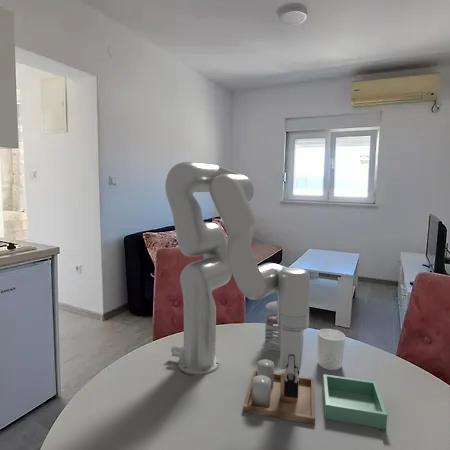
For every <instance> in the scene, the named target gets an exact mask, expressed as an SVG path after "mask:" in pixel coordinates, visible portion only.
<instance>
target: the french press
mask: <svg viewBox="0 0 450 450" xmlns="http://www.w3.org/2000/svg"><path fill="white" fill-rule="evenodd" d="M265 308H266V310H268V311H270V312H272V313H273V312H274V313H275V314H269V315H267V316H266V321H265V331H264V332H265V334H264V336H265V338H264V341H263V342H262V343H261V346H262V348H263V349H264V350H270V351H278V352H280V351H281V329H282V328H281V327H279V326H278V300H274V301H271V302H268V303H266V305H265Z"/></svg>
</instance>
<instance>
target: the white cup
mask: <svg viewBox="0 0 450 450" xmlns="http://www.w3.org/2000/svg"><path fill="white" fill-rule="evenodd" d="M345 343H346V334H345V333H343V331H340V330H338V329H334V328H333V329H332V328H322V329H319V330H318V331H317V361H318V362H317V363H318V365H319V366H320V367H321V368H323V369H325V370H329V371H337V370H339V369H341V368H342V365H343V360H344V359H343V358H344V352H345V346H346V345H345Z"/></svg>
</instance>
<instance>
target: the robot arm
mask: <svg viewBox="0 0 450 450" xmlns="http://www.w3.org/2000/svg"><path fill="white" fill-rule="evenodd" d="M164 188H165V195H166V197H167V198H166V199H167V201H168V204H169V207H170V209H171V214H172V215H171V216H172V218H173V219H172V220H173V225H174V229H175V233H176V239H177V244H178V248H179V250H180V252H181V254H183V256H185V257H188V258H193V257H199V256H203V259H199V260H195V261H192V262H191V263H188V264H187V265H185V267H184V268H183V269H182V270H181V272H180V276H179V277H180V280H179V281H180V288H181V292H182V298H183V299H182V302H183V346H182V347H181V346H177V345H176V346H174V345H173V346H172V347H171V348H170V351H171V356H172V357H175V358H177V357H178V361H177V362H178V363H177V364H178V366H177V367H178V368H179V370H180V371H182V372H183V373H185V374H187V375H191V376H195V375H207V374H210V373H212V372H216V370H218V369H219V367H220V366H221V358H220V356H218V355H217V354H216V350H217V349H216V342H217V341H216V340H217V339H216V337H217V335H216V334H217V306H216V301H215V299H214V296H213V291H214V290H216V289H219V288H221V287H222V286H225V285H226V284H228V283H230V281H231V278H233V279H234V282H235V284H236V286H237V287H238V289H239V291H240V292H241V294H242V295H243V296H245V298H247V299H249V300H252V301H258V300H261V299H264V298H265V297H268V296H269V295H271V294H276V293H277V301H278V324H277V326H279V327H281V328H282V329H281V351H279V352H280V358H279V368H280V369H281V370H285V371H286V373H285V379H284V396H285V397H291V398H298V381H297V374H298V375H299V376H300V371H301V368H302V360H303V349H304V334H305V333H304V330H307V329H308V328H309V326H310V292H311V291H310V290H311V288H310V283H311V282H310V281H311V279H310V278H311V277H310V273H309V272H308V270H306V269H304V268H302V267H288V266H284V265H281V264H278V263H273V262H267V263H266V262H265V263H262V264H260V265H258V263H257V262H256V259H255V257H254V254H253V249H252V239H253V236H254V234H255V231H256V229H257V228H258V223H259V222H258V219H257V218H256V217H257V216H255V213H254V211H253V209H252V207H251V205H250V202H251V200H252V198H254V194H255V186H254V185H253V182H252V180H251V179H250V178H249V177H248V176H246V175H244V174H241V173H238V172H237V171H236V172H235V171H234V170H231V169H228V168H225V167H223V166H220V165H218V164H217V165H216V164H213V163H205V162H198V161H183V162H179V163H175V164H174V166H172V167H171V168H170V170H169V171H168V174H167V175H166V179H165V186H164ZM194 193H209V195H210V196H211V199H212V202H213V204H214V206H215V208H216V211H217V212H218V215H219V217H220V220H221V222H222V224H223V227H224V229H225V231H226V233H227V238H226V235H225V232H224V230H223V229H222V227H221V226H220V225H219V224H217V223H215V222H211V221H210V222H209V221H204V218H203V213H202V208H201V206H200V204H199V201H198V200H197V199H196V198H195V196H194ZM294 372H295V375H294Z"/></svg>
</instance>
